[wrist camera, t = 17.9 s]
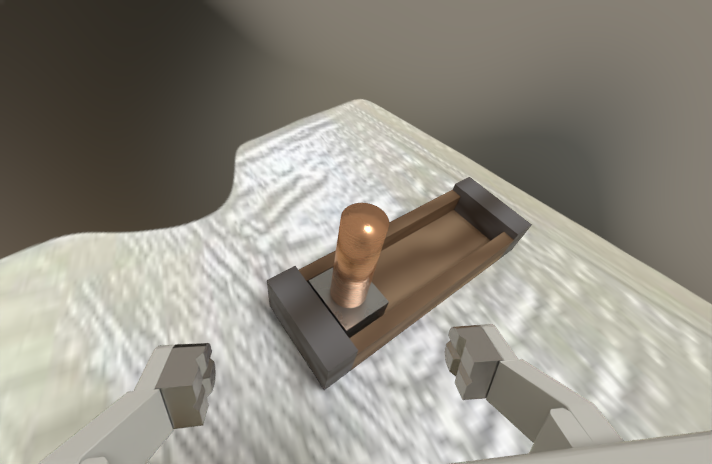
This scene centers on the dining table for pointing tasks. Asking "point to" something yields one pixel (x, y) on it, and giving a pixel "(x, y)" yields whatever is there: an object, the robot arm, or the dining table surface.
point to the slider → (355, 269)
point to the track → (400, 276)
